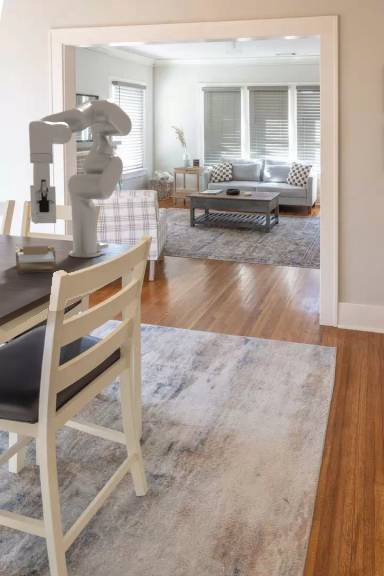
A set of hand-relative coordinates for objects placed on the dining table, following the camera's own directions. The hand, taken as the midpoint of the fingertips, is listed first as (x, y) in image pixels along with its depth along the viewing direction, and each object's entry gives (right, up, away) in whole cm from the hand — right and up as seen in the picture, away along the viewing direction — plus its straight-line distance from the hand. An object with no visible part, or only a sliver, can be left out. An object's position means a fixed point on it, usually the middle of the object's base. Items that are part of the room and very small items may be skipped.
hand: (43, 210), depth 199 cm
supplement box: (0, -4, +1) cm, 4 cm away
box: (-4, -20, +4) cm, 21 cm away
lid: (0, -17, -9) cm, 19 cm away
